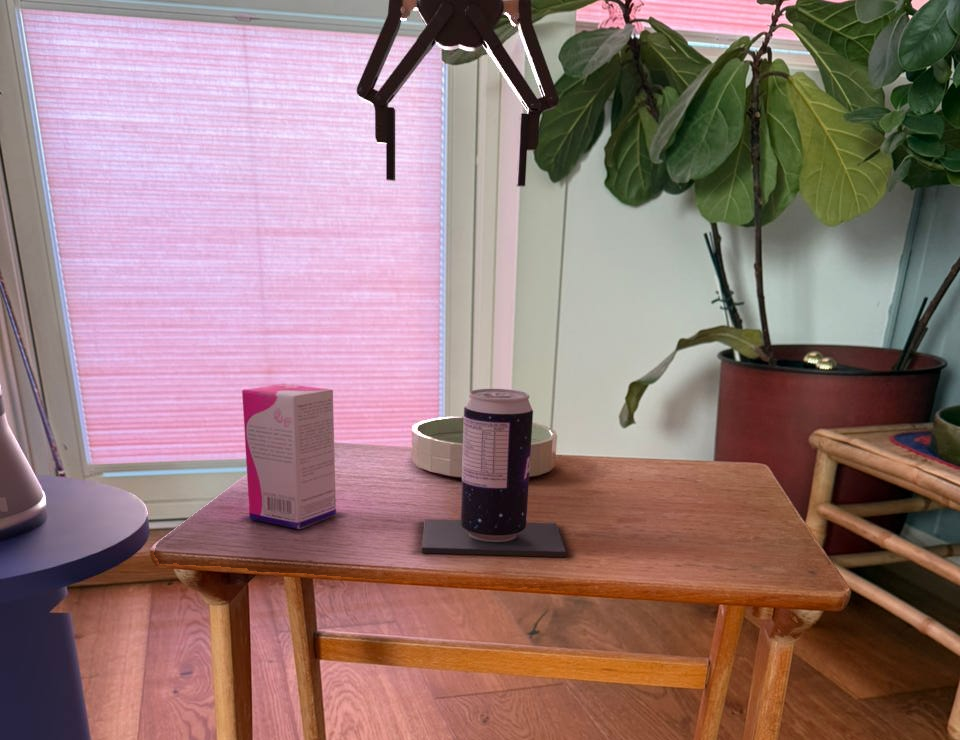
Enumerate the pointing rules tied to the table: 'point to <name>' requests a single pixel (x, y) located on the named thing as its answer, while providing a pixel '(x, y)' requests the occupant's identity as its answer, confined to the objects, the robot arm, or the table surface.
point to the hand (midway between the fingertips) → (455, 183)
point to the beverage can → (496, 464)
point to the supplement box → (290, 454)
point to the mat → (458, 541)
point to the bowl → (443, 447)
